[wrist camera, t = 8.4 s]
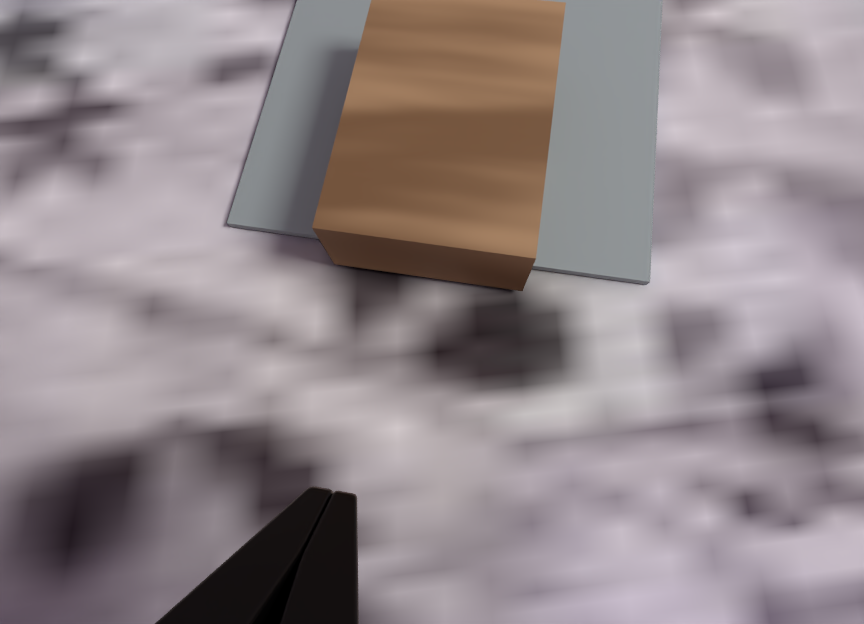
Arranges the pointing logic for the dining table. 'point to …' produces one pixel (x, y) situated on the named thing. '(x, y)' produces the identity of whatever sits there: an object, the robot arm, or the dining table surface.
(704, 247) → the dining table surface
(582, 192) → the mat
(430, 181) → the walnut block
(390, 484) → the dining table surface
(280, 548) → the robot arm
